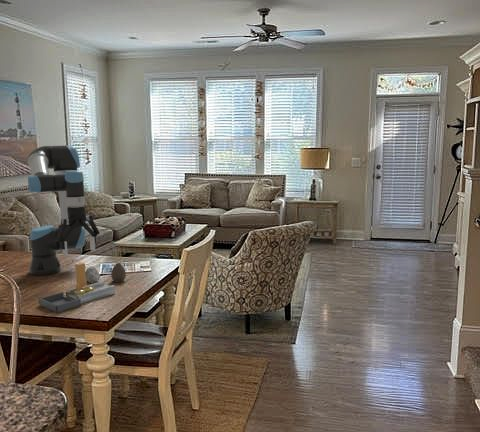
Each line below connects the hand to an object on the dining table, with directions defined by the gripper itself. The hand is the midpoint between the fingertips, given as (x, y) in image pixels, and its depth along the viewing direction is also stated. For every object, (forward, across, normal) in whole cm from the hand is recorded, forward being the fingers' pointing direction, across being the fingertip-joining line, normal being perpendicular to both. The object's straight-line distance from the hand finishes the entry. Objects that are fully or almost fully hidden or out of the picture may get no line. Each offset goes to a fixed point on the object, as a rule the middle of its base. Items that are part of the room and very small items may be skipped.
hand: (79, 253), depth 210 cm
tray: (+18, -16, -9) cm, 25 cm away
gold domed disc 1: (+16, -6, -9) cm, 19 cm away
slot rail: (+18, -1, -9) cm, 20 cm away
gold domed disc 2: (+16, -1, -9) cm, 18 cm away
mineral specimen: (+18, +12, +10) cm, 24 cm away
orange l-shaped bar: (+18, 0, 0) cm, 18 cm away
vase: (+18, +20, 0) cm, 27 cm away
